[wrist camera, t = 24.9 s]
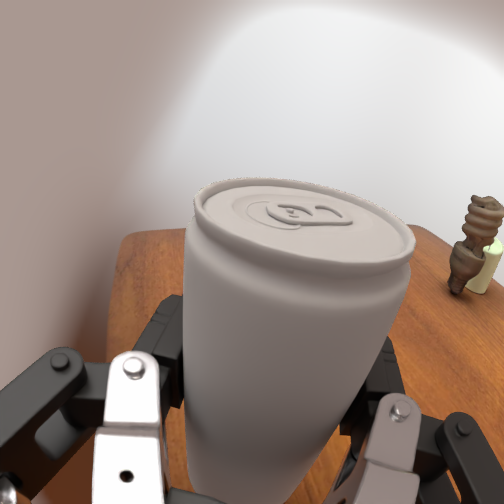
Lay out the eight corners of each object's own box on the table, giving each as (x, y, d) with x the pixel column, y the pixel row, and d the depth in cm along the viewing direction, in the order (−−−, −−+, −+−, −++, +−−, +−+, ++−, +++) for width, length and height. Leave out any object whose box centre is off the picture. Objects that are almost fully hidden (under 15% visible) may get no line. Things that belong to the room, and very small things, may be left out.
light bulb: (474, 301, 38) (514, 206, 31) (456, 308, 36) (499, 204, 29) (450, 281, 43) (483, 189, 36) (430, 285, 41) (465, 186, 34)
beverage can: (178, 440, 13) (173, 173, 8) (273, 423, 15) (340, 181, 9) (204, 530, 9) (220, 279, 4) (313, 502, 11) (467, 258, 5)
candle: (481, 297, 39) (502, 250, 36) (456, 282, 43) (475, 234, 39) (488, 288, 42) (507, 244, 38) (465, 274, 46) (482, 230, 42)
